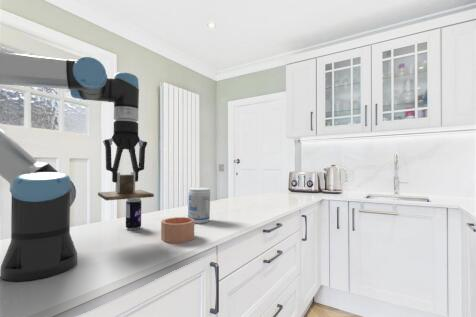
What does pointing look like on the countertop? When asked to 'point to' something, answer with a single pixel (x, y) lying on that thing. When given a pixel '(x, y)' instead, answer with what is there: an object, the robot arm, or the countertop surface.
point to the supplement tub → (199, 204)
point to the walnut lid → (125, 190)
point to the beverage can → (133, 213)
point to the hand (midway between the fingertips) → (125, 191)
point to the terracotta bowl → (177, 229)
